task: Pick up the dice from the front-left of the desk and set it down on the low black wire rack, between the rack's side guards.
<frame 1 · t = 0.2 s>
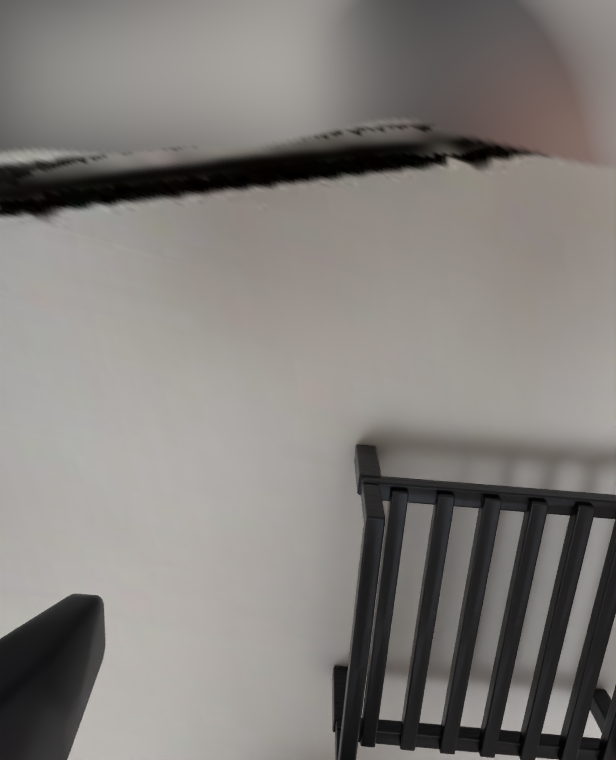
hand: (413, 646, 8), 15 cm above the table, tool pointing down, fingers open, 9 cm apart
rack: (487, 581, 24), on the table
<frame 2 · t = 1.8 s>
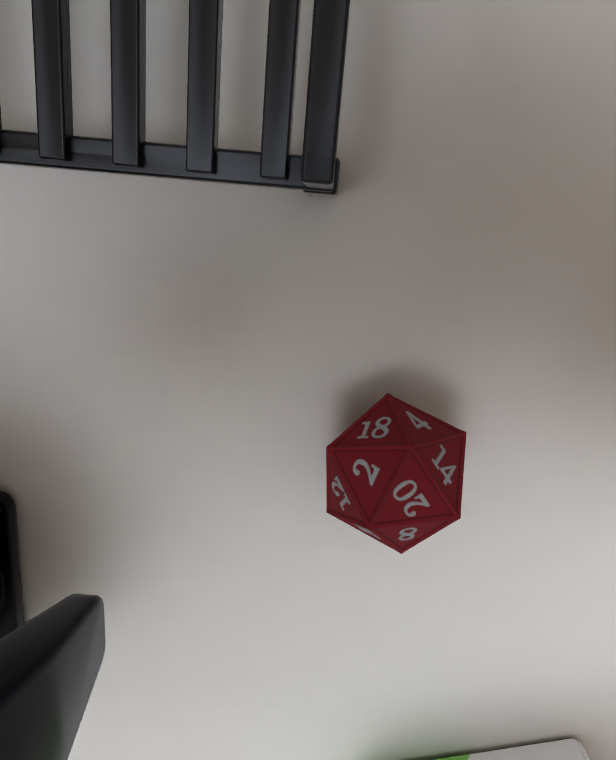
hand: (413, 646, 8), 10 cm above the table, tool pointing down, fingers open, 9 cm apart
dice: (387, 442, 18), on the table
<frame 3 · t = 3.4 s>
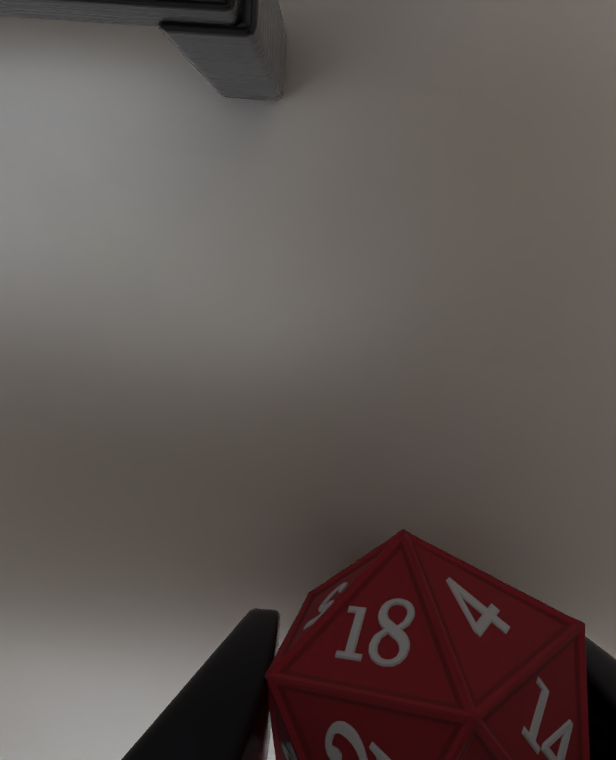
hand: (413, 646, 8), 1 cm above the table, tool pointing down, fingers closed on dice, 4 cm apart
dice: (401, 592, 9), on the table, touching gripper
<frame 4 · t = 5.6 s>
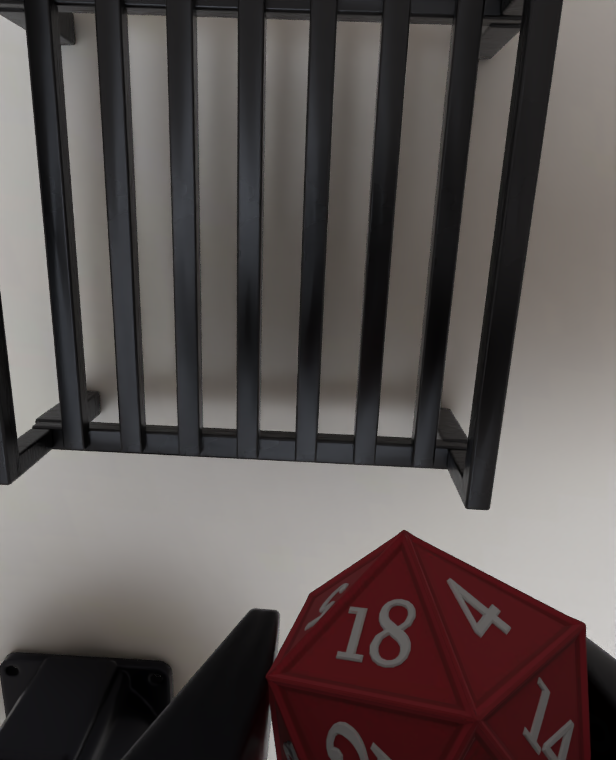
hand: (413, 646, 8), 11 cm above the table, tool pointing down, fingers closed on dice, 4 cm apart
rack: (264, 239, 17), on the table
dice: (402, 592, 9), point 10 cm above the table, touching gripper
when the fingers open (5 cm above the table, at t = 8.0 s): dice stays where it is, resting on rack.
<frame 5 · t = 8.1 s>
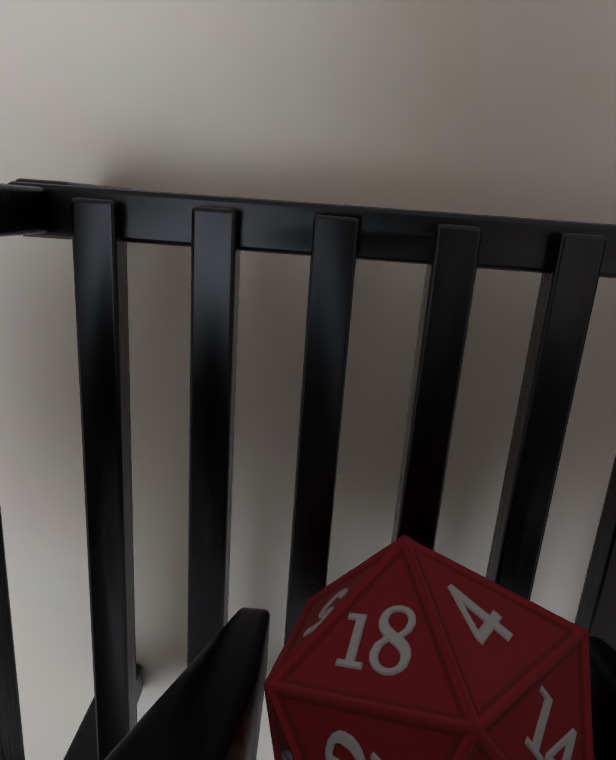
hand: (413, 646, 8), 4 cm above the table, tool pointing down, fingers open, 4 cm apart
rack: (387, 493, 12), on the table
dice: (402, 597, 9), point 3 cm above the table, touching rack
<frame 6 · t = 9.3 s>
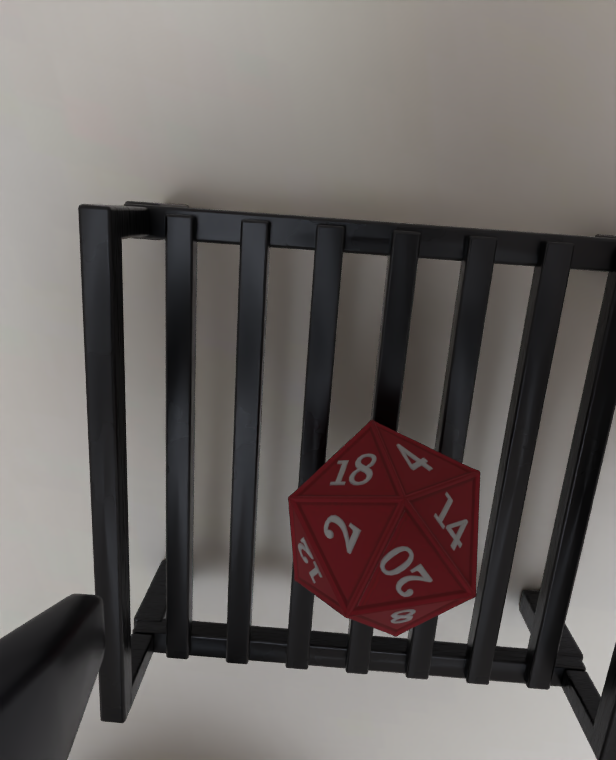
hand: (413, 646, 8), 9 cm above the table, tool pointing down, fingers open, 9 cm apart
rack: (369, 426, 17), on the table
dice: (375, 479, 14), point 3 cm above the table, touching rack
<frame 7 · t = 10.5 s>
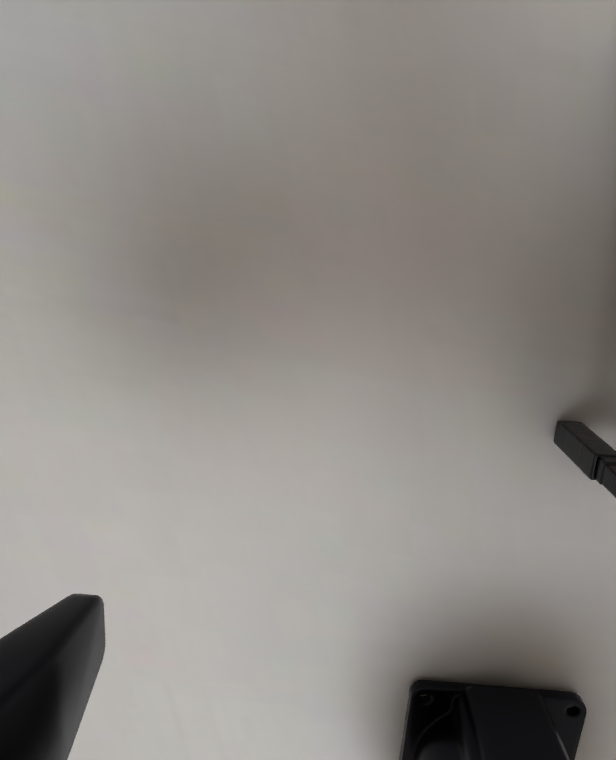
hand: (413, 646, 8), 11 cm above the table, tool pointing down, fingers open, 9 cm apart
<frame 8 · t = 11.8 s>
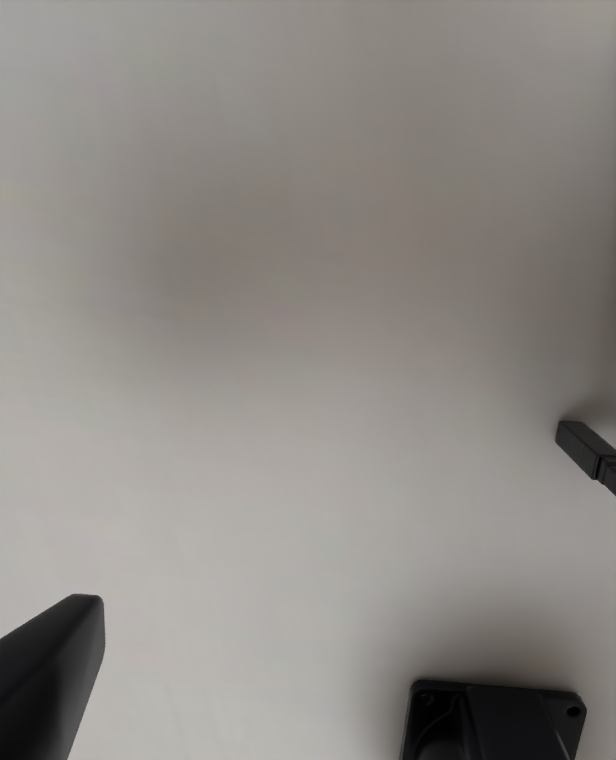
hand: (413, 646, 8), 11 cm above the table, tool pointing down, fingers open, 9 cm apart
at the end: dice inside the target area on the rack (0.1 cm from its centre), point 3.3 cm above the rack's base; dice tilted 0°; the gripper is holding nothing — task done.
